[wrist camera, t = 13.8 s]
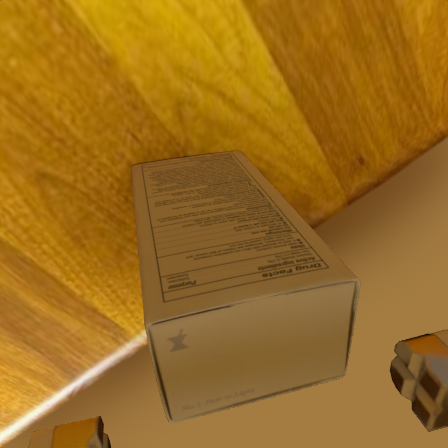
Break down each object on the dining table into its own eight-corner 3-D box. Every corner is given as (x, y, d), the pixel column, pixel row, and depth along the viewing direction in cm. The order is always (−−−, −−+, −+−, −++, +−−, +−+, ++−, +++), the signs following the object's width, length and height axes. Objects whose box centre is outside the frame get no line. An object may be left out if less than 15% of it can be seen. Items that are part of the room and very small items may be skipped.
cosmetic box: (142, 233, 22) (159, 431, 12) (128, 160, 20) (134, 325, 10) (248, 216, 23) (348, 384, 13) (246, 144, 21) (365, 279, 11)
